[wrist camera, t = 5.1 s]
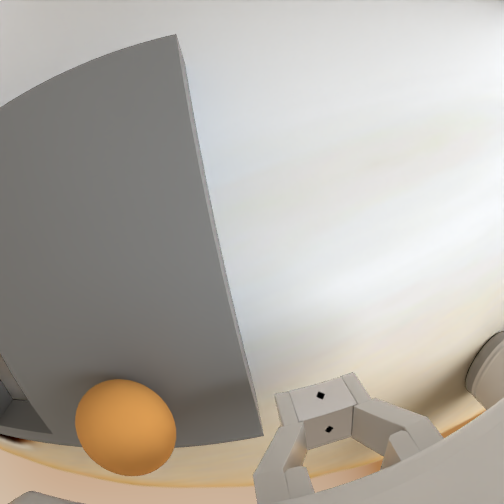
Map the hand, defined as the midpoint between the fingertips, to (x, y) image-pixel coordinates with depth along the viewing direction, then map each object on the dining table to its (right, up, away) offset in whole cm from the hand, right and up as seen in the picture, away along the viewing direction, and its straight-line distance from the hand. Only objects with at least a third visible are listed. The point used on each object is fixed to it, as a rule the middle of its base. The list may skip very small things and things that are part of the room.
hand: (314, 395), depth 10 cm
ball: (-7, -1, -1) cm, 7 cm away
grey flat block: (-13, +3, +2) cm, 14 cm away
